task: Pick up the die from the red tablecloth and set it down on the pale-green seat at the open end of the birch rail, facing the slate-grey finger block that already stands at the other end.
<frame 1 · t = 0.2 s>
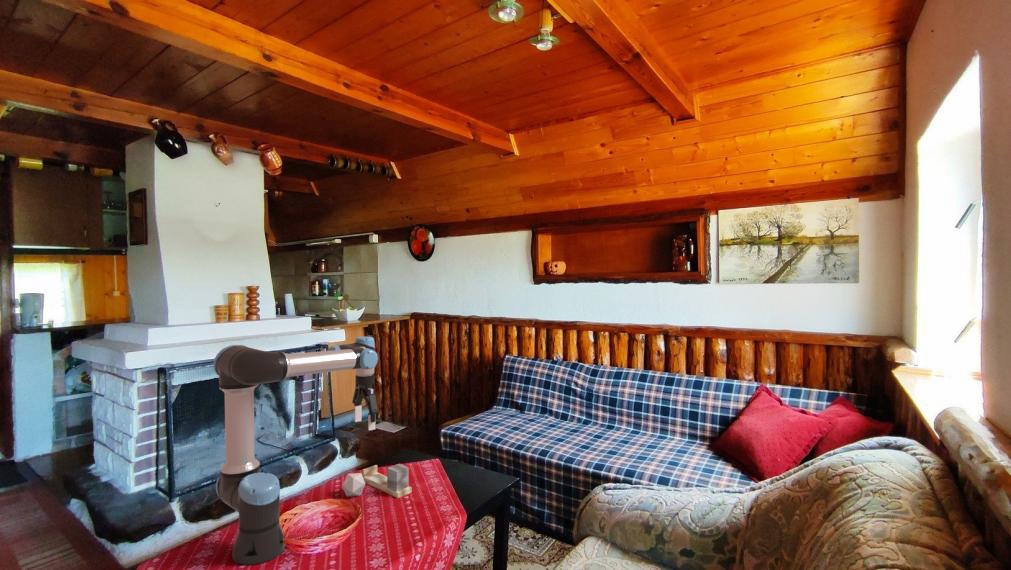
hand: (364, 425, 204), 26 cm above the table, fingers open, 13 cm apart
rail: (386, 486, 207), on the table
die: (353, 494, 199), on the table
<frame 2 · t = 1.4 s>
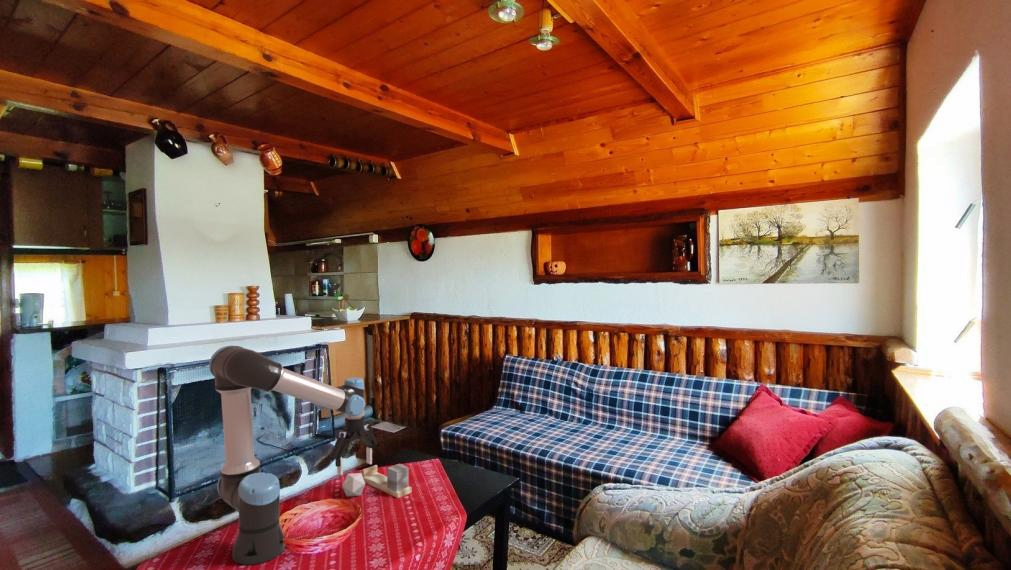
hand: (354, 468, 199), 10 cm above the table, fingers open, 13 cm apart
nothing on the table moved.
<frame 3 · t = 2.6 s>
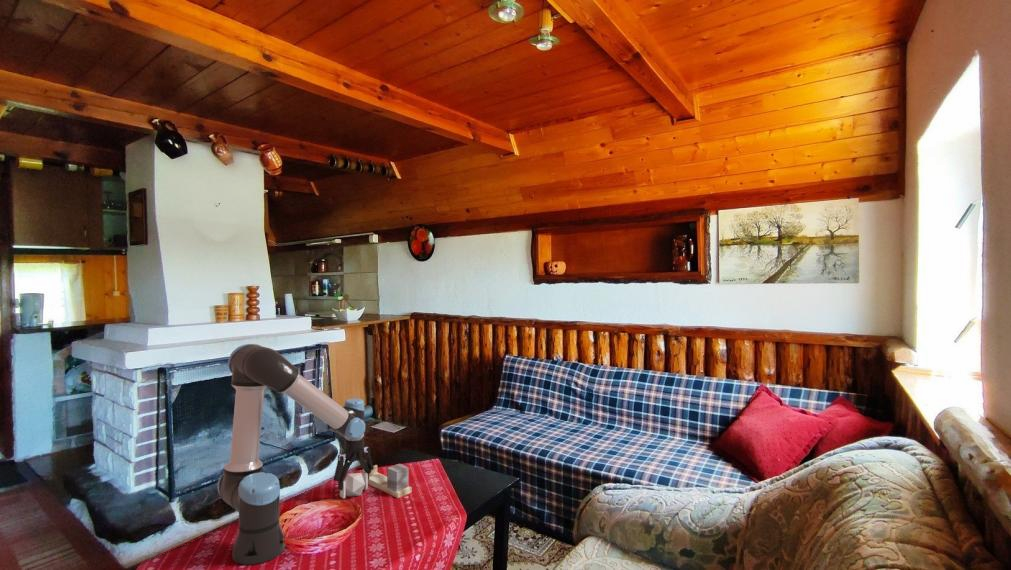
hand: (354, 492, 199), 1 cm above the table, fingers closed on die, 10 cm apart
die: (353, 494, 199), on the table, touching gripper
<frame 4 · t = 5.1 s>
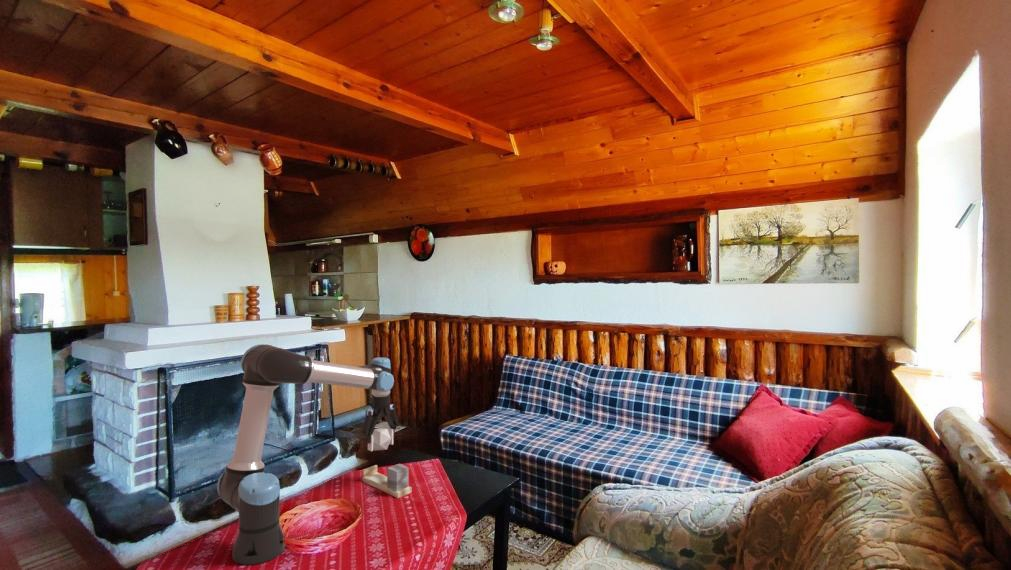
hand: (380, 447, 209), 16 cm above the table, fingers closed on die, 10 cm apart
die: (380, 449, 209), point 15 cm above the table, touching gripper
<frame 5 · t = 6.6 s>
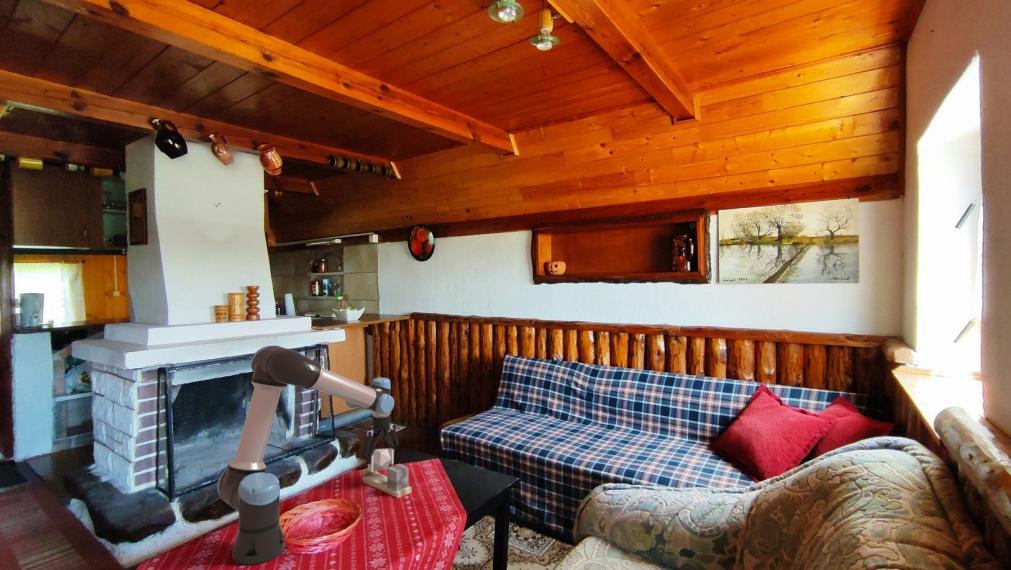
hand: (380, 467, 209), 7 cm above the table, fingers closed on die, 10 cm apart
die: (380, 469, 209), point 6 cm above the table, touching gripper
when the fingers open (5 cm above the table, at t = 7.6 s): die drops 2 cm, resting on rail.
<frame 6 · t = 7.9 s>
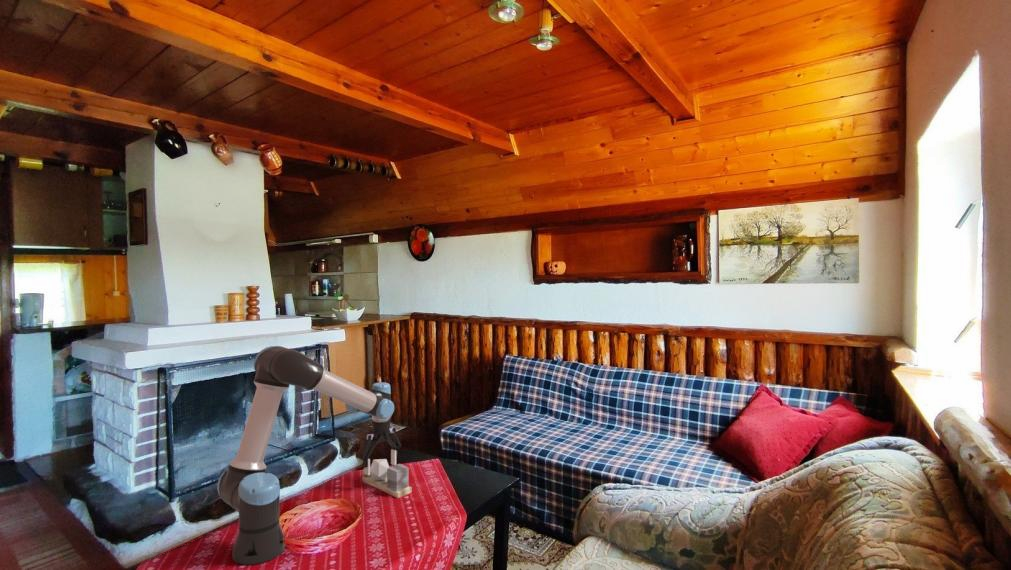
hand: (380, 469, 209), 6 cm above the table, fingers open, 13 cm apart
die: (379, 479, 209), point 2 cm above the table, touching rail
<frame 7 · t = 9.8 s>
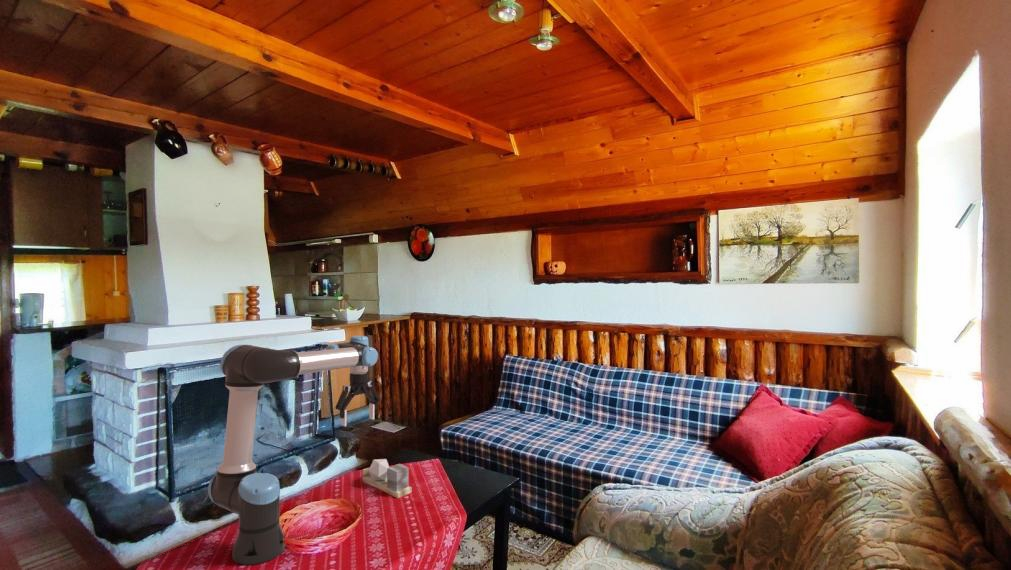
hand: (358, 422, 210), 26 cm above the table, fingers open, 13 cm apart
nothing on the table moved.
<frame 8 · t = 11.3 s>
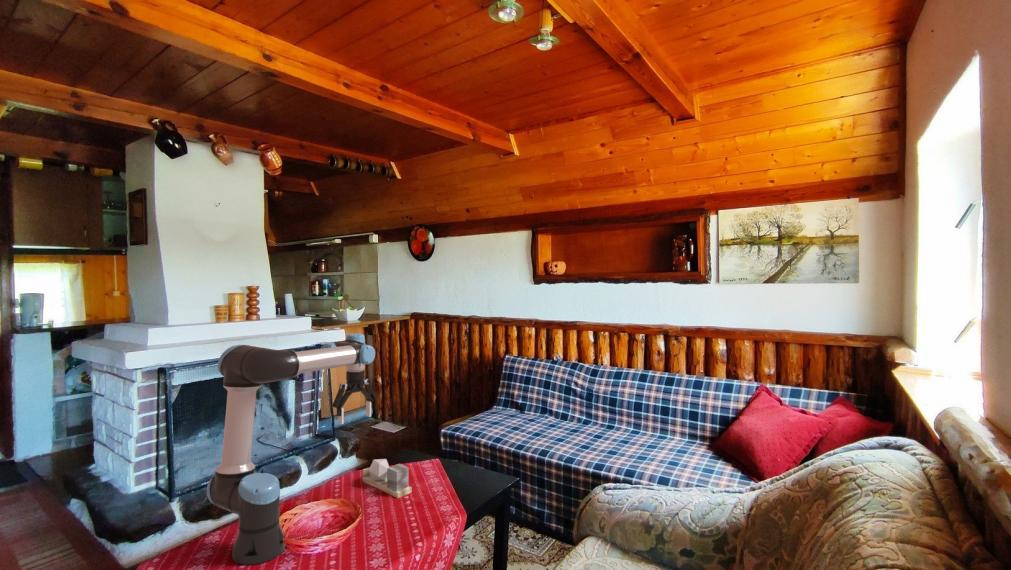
hand: (355, 419, 210), 27 cm above the table, fingers open, 13 cm apart
nothing on the table moved.
at the end: die inside the target area on the rail (0.8 cm from its centre), point 2.0 cm above the rail's base; die tilted 1°; the gripper is holding nothing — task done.
